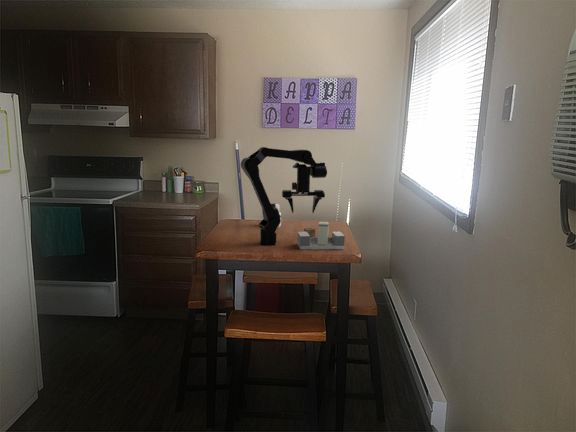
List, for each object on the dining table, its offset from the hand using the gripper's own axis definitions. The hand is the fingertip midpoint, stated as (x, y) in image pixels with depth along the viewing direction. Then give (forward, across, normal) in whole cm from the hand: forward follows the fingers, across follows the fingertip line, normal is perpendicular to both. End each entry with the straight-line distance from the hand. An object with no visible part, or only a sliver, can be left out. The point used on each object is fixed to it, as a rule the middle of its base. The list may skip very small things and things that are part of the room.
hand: (302, 212), depth 198 cm
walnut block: (+13, -5, -9) cm, 17 cm away
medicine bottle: (+13, +10, -34) cm, 38 cm away
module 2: (+12, -14, +10) cm, 21 cm away
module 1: (+12, +1, +10) cm, 16 cm away
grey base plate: (+13, -6, +10) cm, 18 cm away
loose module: (+12, -8, +10) cm, 17 cm away
